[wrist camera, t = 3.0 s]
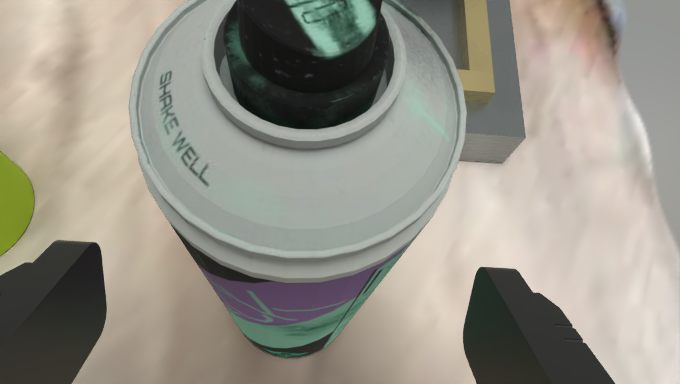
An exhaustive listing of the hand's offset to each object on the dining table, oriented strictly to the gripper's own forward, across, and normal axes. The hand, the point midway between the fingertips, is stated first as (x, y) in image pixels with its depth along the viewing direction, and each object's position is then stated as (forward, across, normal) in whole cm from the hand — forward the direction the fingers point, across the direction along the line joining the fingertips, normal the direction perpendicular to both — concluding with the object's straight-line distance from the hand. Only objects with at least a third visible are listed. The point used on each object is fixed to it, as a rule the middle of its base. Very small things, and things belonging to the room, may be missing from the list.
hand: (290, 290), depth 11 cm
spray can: (+11, 0, +8) cm, 14 cm away
